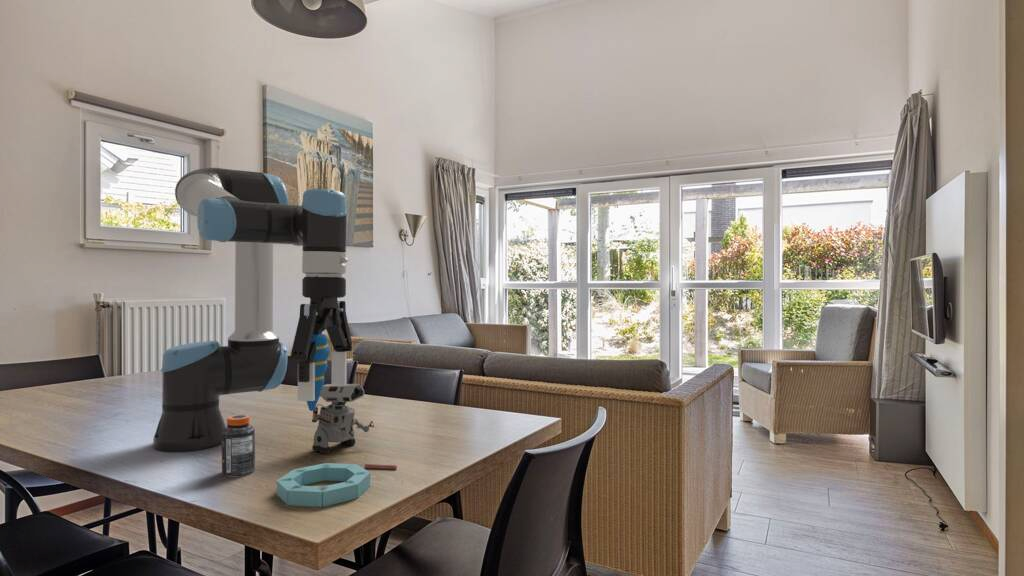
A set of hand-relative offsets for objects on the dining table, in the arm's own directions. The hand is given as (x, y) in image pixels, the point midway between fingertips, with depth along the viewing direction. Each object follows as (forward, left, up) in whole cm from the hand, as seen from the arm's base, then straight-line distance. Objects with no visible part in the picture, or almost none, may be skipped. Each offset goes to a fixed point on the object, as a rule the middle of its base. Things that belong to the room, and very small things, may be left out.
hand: (323, 392), depth 105 cm
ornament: (0, -5, -2) cm, 6 cm away
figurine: (-7, +25, -18) cm, 31 cm away
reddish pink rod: (+6, +13, -18) cm, 23 cm away
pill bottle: (-21, +7, -18) cm, 28 cm away
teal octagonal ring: (0, 0, -18) cm, 18 cm away
